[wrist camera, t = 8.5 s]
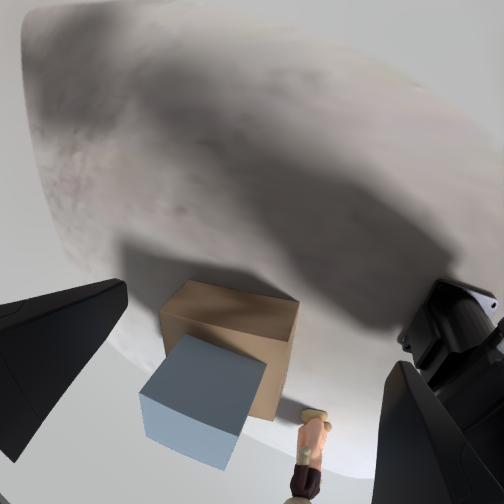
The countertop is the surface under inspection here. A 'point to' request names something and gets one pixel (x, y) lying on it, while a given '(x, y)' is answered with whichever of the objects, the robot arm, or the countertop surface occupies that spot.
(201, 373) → the slate-blue cube
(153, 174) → the countertop surface
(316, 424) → the grandmother figurine
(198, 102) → the countertop surface
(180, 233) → the countertop surface
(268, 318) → the tan flat block
